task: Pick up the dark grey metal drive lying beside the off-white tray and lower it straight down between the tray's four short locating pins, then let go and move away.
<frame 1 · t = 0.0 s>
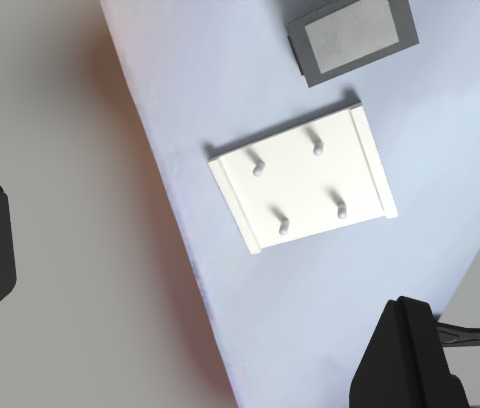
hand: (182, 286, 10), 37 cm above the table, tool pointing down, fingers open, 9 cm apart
drive: (349, 30, 40), on the table
tray: (302, 182, 48), on the table
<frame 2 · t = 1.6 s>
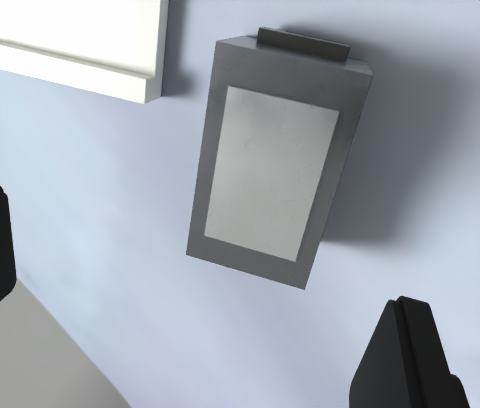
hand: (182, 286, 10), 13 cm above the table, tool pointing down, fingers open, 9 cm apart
drive: (281, 145, 22), on the table
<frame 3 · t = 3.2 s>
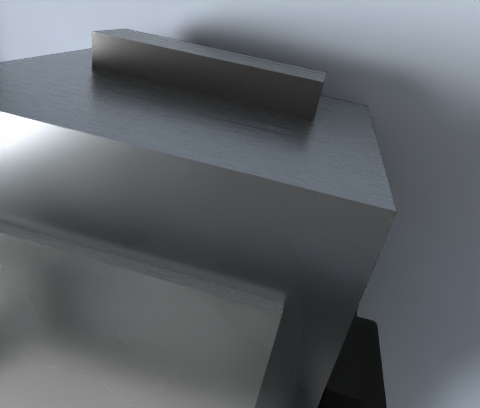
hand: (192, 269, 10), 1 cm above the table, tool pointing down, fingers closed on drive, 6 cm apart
drive: (200, 261, 11), on the table, touching gripper
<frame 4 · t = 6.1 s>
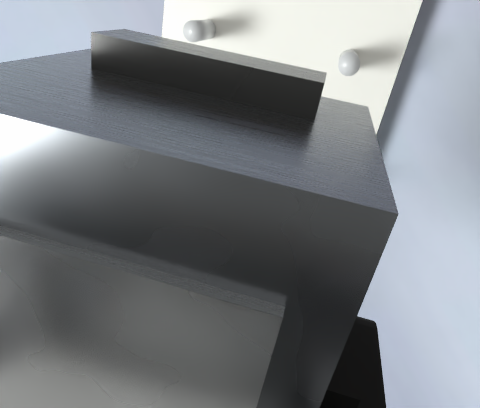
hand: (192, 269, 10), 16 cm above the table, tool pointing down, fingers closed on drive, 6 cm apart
drive: (200, 262, 11), point 15 cm above the table, touching gripper
tray: (266, 104, 24), on the table
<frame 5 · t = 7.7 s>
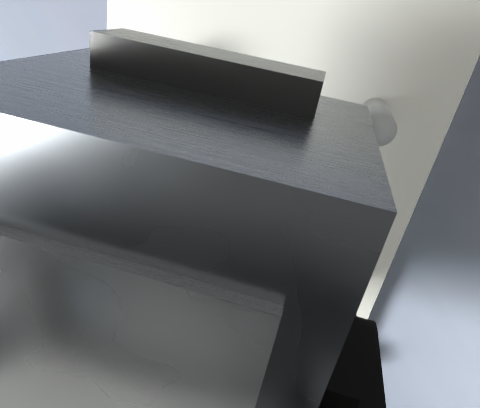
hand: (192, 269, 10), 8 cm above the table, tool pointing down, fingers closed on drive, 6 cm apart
drive: (199, 261, 11), point 7 cm above the table, touching gripper
tray: (255, 166, 17), on the table
when the fingers open (3 cm above the table, at t = 9.1 s): drive drops 1 cm, resting on tray.
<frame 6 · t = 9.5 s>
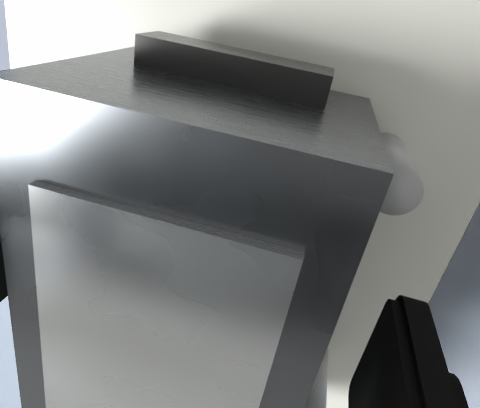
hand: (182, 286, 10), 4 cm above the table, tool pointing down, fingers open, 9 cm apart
drive: (218, 240, 12), point 1 cm above the table, touching tray
tray: (223, 215, 13), on the table
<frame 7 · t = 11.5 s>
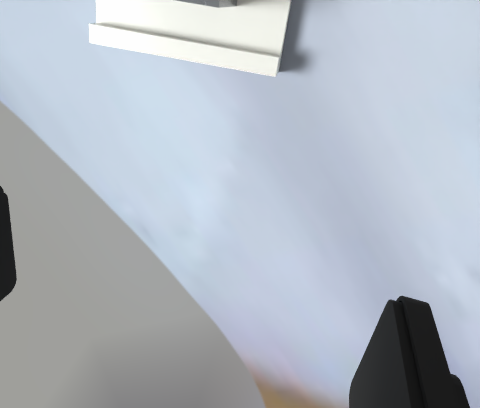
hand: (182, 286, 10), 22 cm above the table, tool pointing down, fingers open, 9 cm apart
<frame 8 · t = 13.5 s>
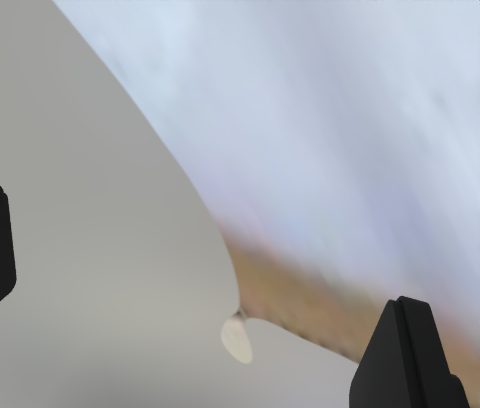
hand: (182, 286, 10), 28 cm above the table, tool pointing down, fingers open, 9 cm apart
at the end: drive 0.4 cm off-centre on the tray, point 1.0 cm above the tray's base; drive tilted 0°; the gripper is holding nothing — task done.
